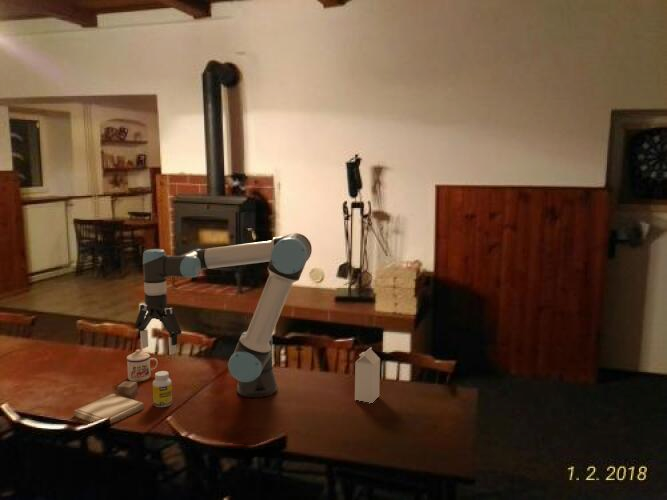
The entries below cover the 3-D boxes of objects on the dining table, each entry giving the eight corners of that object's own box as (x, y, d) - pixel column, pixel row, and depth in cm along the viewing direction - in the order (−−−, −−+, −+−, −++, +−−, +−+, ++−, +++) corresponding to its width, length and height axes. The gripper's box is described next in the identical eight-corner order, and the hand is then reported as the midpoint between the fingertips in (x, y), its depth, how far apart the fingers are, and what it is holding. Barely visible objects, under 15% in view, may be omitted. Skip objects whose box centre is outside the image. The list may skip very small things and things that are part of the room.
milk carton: (379, 397, 202) (380, 348, 199) (372, 404, 196) (373, 354, 193) (361, 393, 205) (362, 345, 202) (354, 400, 199) (355, 351, 196)
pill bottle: (155, 409, 190) (153, 378, 189) (152, 402, 196) (150, 371, 194) (174, 405, 193) (172, 374, 191) (170, 398, 199) (169, 368, 197)
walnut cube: (137, 394, 203) (137, 382, 202) (130, 400, 198) (129, 387, 197) (125, 393, 203) (124, 381, 203) (118, 399, 199) (117, 386, 198)
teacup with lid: (129, 383, 212) (128, 355, 211) (125, 376, 220) (124, 348, 218) (160, 378, 218) (159, 350, 216) (155, 370, 226) (154, 344, 224)
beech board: (144, 408, 191) (143, 402, 191) (105, 427, 177) (105, 420, 177) (113, 398, 199) (113, 393, 198) (74, 415, 185) (73, 409, 184)
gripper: (190, 294, 189) (192, 352, 192) (138, 287, 200) (141, 342, 203) (174, 299, 182) (177, 359, 185) (122, 291, 193) (125, 348, 196)
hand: (158, 350), depth 194 cm, fingers open, 13 cm apart
